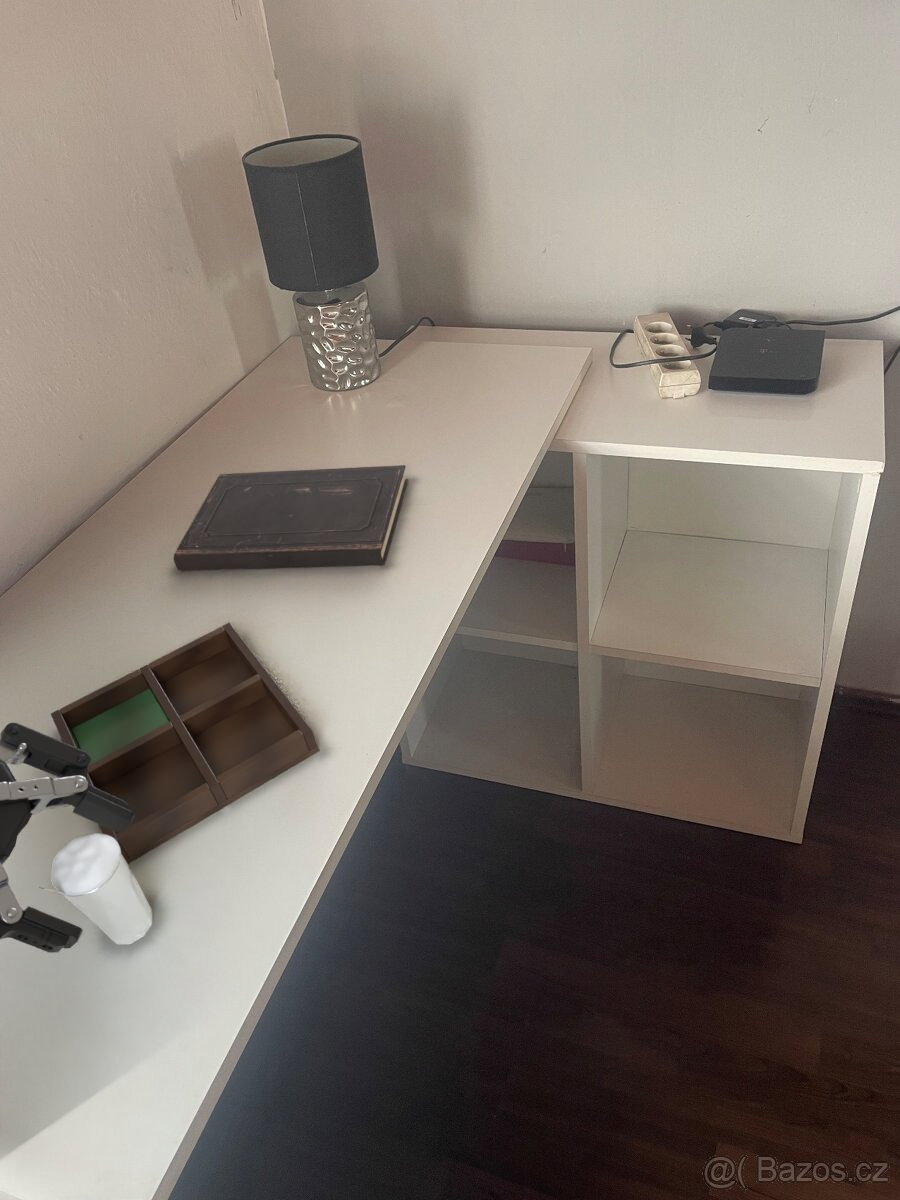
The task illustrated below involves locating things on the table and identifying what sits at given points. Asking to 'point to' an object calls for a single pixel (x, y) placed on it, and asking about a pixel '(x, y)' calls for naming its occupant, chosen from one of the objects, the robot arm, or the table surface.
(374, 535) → the hardcover book
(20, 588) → the table surface
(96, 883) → the milkshake
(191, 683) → the grid
